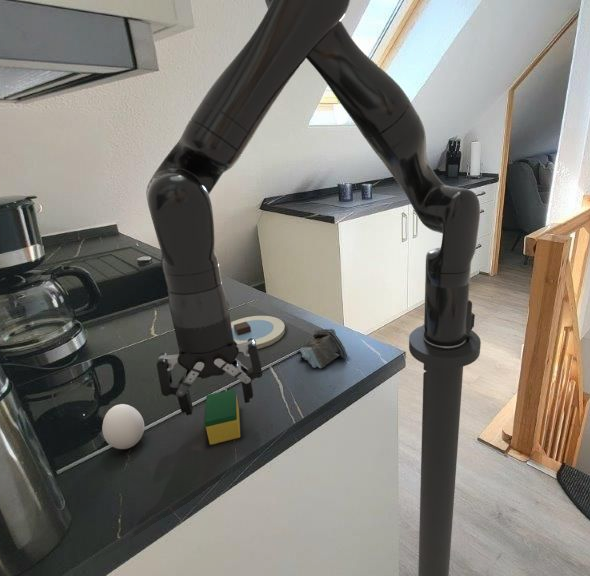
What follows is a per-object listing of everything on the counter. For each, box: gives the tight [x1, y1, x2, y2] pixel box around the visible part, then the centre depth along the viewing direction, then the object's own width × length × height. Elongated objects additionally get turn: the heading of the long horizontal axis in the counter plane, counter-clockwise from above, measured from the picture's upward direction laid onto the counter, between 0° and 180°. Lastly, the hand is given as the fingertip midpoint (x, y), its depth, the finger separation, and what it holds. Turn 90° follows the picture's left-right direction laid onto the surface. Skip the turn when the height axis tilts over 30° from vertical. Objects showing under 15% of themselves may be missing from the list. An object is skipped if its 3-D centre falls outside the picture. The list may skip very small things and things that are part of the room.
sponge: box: [204, 388, 241, 446], centre depth 65 cm, size 7×4×4 cm, turn 20°
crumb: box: [234, 322, 251, 335], centre depth 94 cm, size 3×3×2 cm
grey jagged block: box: [299, 328, 348, 369], centre depth 84 cm, size 10×7×12 cm
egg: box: [101, 403, 145, 450], centre depth 61 cm, size 5×5×7 cm
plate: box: [231, 315, 286, 350], centre depth 95 cm, size 15×15×1 cm
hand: (219, 405), depth 64 cm, fingers open, 8 cm apart
